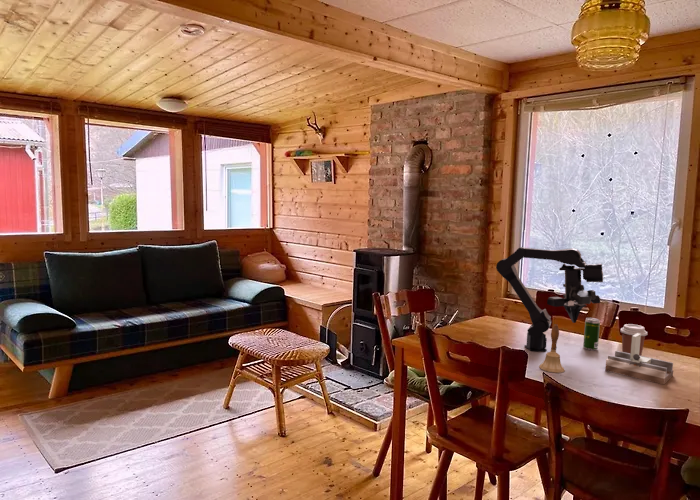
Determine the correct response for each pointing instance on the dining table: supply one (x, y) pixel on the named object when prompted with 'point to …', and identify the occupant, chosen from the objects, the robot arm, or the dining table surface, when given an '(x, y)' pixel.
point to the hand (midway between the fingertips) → (574, 322)
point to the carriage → (637, 350)
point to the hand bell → (553, 355)
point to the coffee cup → (627, 337)
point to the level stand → (640, 368)
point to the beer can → (591, 333)
